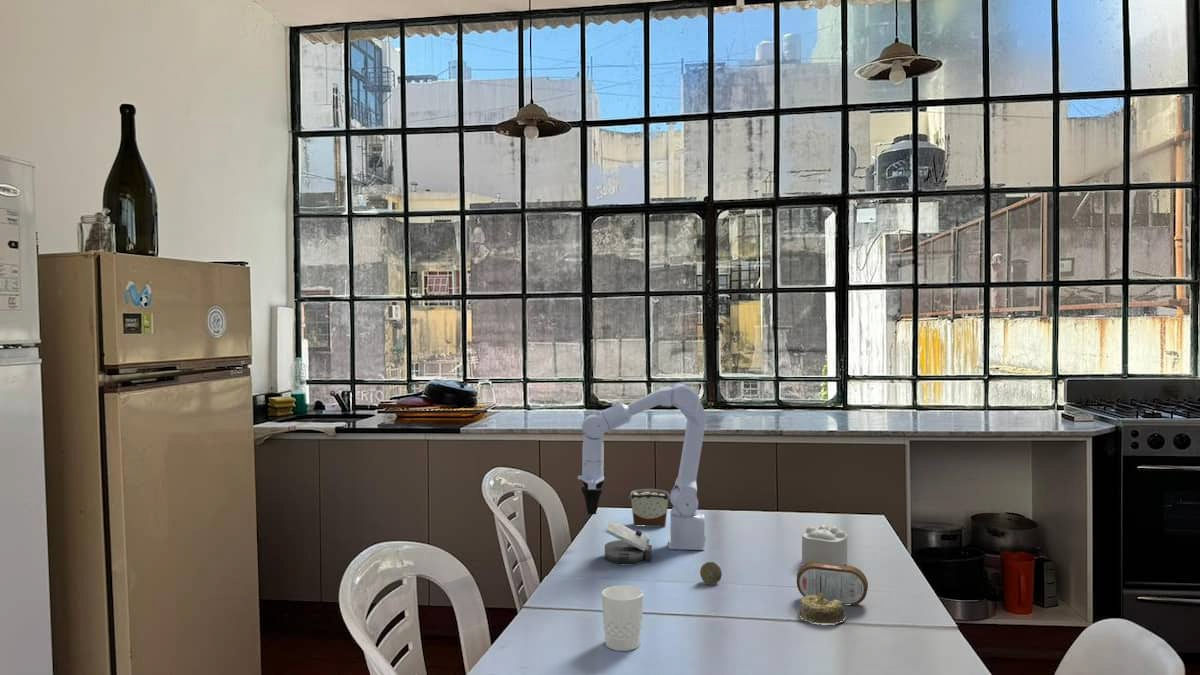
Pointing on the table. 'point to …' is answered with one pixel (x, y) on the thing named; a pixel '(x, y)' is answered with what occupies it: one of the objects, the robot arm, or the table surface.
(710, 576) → the lime
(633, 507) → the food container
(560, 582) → the table surface
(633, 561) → the pot
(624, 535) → the lid
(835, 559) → the lumpy-topped squat cylinder
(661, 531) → the table surface
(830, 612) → the cake
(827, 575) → the tin
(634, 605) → the white cup
